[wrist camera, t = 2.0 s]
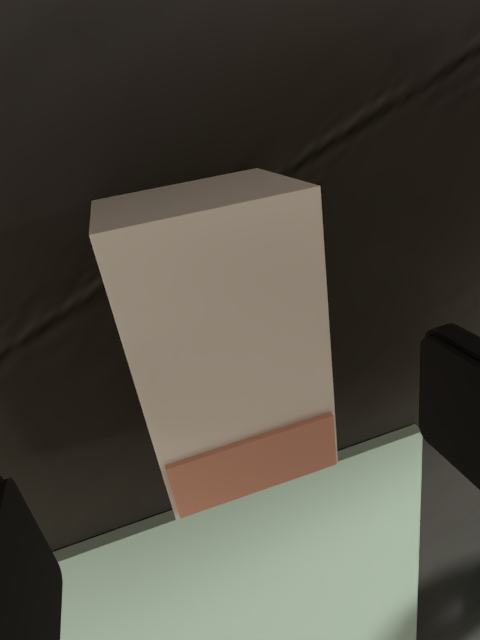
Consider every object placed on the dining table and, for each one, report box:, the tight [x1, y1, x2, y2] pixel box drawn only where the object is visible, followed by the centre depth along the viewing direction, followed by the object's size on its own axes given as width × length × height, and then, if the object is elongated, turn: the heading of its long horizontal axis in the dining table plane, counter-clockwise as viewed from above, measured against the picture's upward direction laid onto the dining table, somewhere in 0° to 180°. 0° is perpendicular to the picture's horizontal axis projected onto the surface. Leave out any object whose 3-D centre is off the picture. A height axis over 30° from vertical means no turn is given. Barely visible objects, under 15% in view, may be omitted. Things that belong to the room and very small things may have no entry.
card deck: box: [89, 168, 338, 520], centre depth 14 cm, size 6×9×5 cm, turn 9°
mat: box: [53, 424, 423, 640], centre depth 24 cm, size 20×20×1 cm
